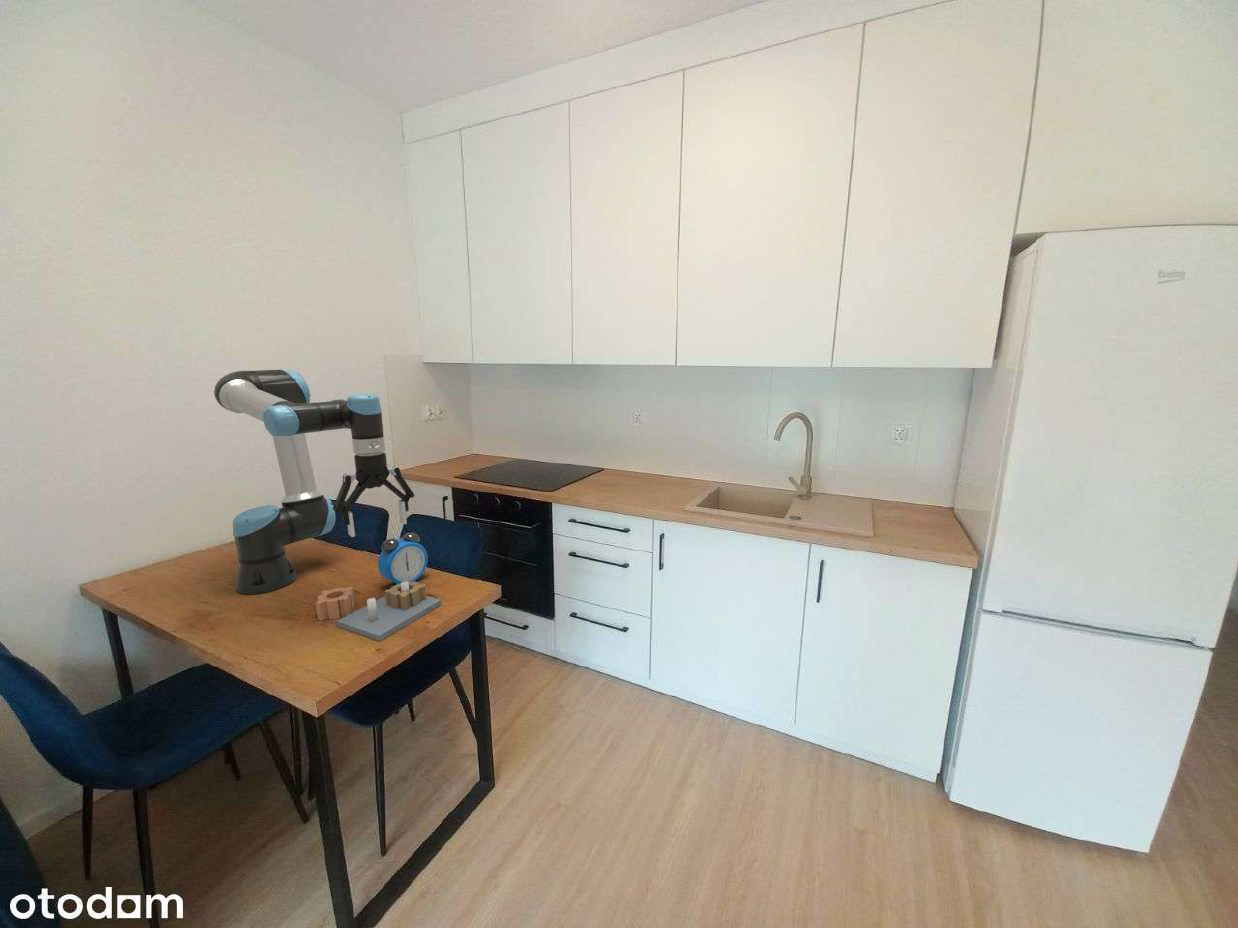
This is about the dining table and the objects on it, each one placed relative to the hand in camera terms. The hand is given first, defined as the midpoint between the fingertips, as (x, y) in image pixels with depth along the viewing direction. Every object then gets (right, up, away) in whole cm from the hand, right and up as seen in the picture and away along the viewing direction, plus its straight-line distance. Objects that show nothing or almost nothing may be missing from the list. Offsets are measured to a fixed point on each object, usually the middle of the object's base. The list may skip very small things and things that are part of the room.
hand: (378, 529), depth 134 cm
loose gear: (-11, -22, 0) cm, 25 cm away
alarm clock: (0, -19, +17) cm, 26 cm away
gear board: (+5, -23, -2) cm, 23 cm away
